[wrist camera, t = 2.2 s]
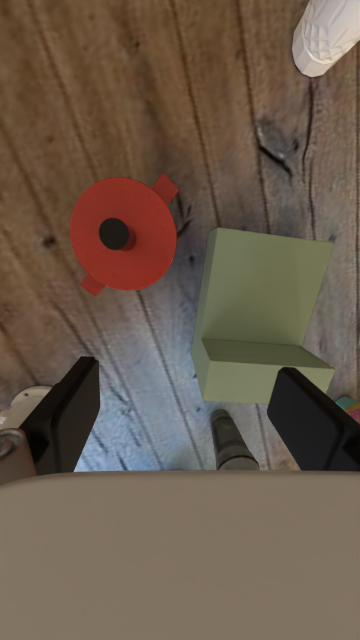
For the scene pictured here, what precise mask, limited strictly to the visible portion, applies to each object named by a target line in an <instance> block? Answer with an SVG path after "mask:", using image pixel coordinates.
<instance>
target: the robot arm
mask: <svg viewBox="0 0 360 640" xmlns="http://www.w3.org/2000/svg"><path fill="white" fill-rule="evenodd" d="M99 409H100V387H99V362H98V360H95V358H94V357H86V356H81V357H80V358H79V360H78V361H77V362H76V363H75V364H74V366H73V367H72V368H71V369H70V370H69V372H68V373H67V374H66V375H65V376H64V378H63V379H62V380H61V381H60V383H57V384H55V385H54V386H53V387H49V386H35V387H30V388H28V389H25V390H24V391H22V392H20V393H19V394H18V395H17V396H16V397H15V398H14V400H13V401H12V403H11V406H10V409H4V410H2V411H0V640H360V424H359V423H358V422H357V421H355V420H354V419H353V418H352V417H351V416H350V415H349V414H347V413H346V412H345V411H344V410H343V409H342V408H341V407H340V406H338V405H337V404H336V403H335V402H334V401H333V400H332V399H330V398H329V397H328V396H327V395H326V394H325V393H324V392H323V391H321V390H320V389H319V388H318V387H317V386H316V385H315V384H313V383H312V382H311V381H310V380H309V379H308V378H307V377H305V376H304V375H303V374H302V373H301V372H300V371H299V370H298V369H296V368H295V367H282V368H281V369H280V370H279V371H278V373H277V377H276V380H275V384H274V387H273V391H272V394H271V398H270V401H269V405H268V409H267V415H268V417H269V419H270V421H271V422H272V424H273V426H274V427H275V429H276V430H277V432H278V434H279V435H280V437H281V438H282V440H283V442H284V443H285V445H286V446H287V448H288V450H289V451H290V453H291V454H292V456H293V458H294V459H295V461H296V462H297V464H298V466H299V467H300V469H301V470H302V471H279V470H168V471H93V472H74V469H75V467H76V465H77V462H78V460H79V458H80V455H81V453H82V451H83V448H84V446H85V444H86V441H87V439H88V437H89V434H90V432H91V429H92V427H93V425H94V422H95V420H96V418H97V415H98V413H99Z"/></svg>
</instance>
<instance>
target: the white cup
mask: <svg viewBox="0 0 360 640" xmlns="http://www.w3.org/2000/svg"><path fill="white" fill-rule="evenodd" d="M359 40H360V0H309V3H308V5H307V7H306V9H305V11H304V13H303V15H302V16H301V18H300V21H299V23H298V25H297V27H296V29H295V31H294V35H293V43H292V53H293V58H294V63H295V65H296V66H297V67H298V69H299V70H300V72H301V73H302V74H304V75H307V76H309V77H315V76H320V75H323V74H324V73H325V72H326V71H328V70H329V69H330V68H331V67H332V66H333V65H334V64H335V63H336V62H337V61H338V60H339V59H340V58H341V57H342V56H343V55H344V54H346V53H347V52H348V51H349V50H350V49H351V48H352V47H353V46H354V45H355V44H356V43H357V42H358V41H359Z"/></svg>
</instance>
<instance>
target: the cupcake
mask: <svg viewBox="0 0 360 640" xmlns="http://www.w3.org/2000/svg"><path fill="white" fill-rule="evenodd" d="M335 403H336V404H337V405H338V406H340V407H341V408H342V409H343V410H344V411H345V412H346V413H347V414H349V415H350V416H351V417H352V418H353V419H354V420H355V421H357V422H358V423H359V424H360V401H357V400H355V399H352V398H350V397H342V398H339V399H338V400H337V401H336V402H335Z"/></svg>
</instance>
